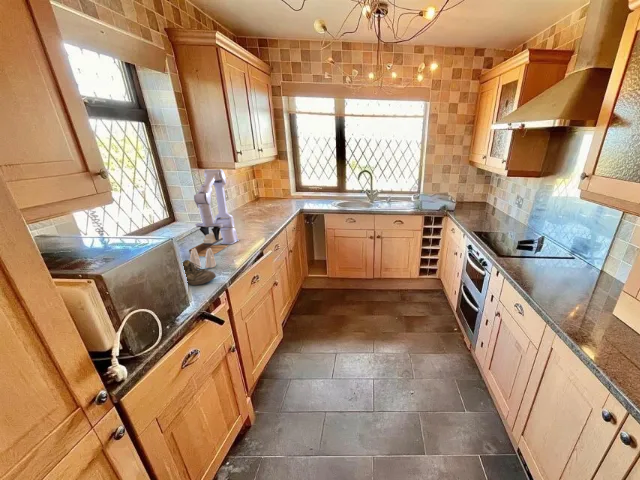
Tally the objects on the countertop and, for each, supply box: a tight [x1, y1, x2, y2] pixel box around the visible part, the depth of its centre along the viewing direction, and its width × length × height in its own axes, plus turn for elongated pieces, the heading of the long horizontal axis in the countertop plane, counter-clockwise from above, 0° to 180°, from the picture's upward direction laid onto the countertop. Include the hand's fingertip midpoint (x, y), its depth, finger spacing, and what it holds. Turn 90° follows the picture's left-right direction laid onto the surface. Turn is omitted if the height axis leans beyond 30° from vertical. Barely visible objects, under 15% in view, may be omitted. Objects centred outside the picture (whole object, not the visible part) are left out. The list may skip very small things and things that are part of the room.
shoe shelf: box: [188, 242, 230, 257], centre depth 183 cm, size 20×12×4 cm, turn 176°
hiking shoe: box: [181, 259, 217, 286], centre depth 142 cm, size 9×21×12 cm
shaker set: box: [189, 247, 217, 269], centre depth 155 cm, size 12×4×11 cm, turn 125°
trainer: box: [202, 231, 223, 245], centre depth 174 cm, size 11×5×5 cm, turn 177°
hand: (213, 239), depth 175 cm, fingers closed on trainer, 4 cm apart
